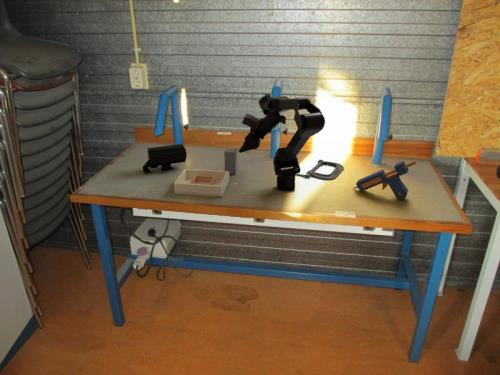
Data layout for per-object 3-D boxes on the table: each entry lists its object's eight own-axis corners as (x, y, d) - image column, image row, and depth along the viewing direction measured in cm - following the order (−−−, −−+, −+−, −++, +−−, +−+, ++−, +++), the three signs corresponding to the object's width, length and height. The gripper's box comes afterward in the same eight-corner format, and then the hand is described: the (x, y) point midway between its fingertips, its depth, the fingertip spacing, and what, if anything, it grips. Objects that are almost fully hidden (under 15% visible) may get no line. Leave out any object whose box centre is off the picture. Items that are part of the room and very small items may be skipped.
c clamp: (328, 185, 156) (328, 179, 155) (290, 175, 165) (290, 169, 164) (348, 169, 171) (349, 163, 170) (313, 160, 180) (313, 154, 179)
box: (229, 181, 159) (229, 171, 157) (221, 197, 146) (221, 186, 144) (186, 178, 161) (185, 168, 159) (174, 194, 149) (173, 183, 147)
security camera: (142, 169, 170) (139, 147, 166) (185, 163, 176) (183, 142, 171) (144, 176, 164) (141, 153, 160) (188, 169, 170) (186, 147, 166)
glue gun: (366, 210, 155) (350, 183, 153) (430, 183, 141) (413, 154, 140) (364, 215, 150) (348, 188, 149) (429, 188, 137) (412, 158, 136)
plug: (237, 170, 169) (237, 148, 164) (235, 175, 165) (235, 152, 160) (227, 170, 169) (226, 148, 165) (225, 174, 165) (224, 151, 161)
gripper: (258, 102, 162) (232, 127, 168) (250, 114, 145) (222, 141, 152) (276, 121, 164) (250, 145, 170) (271, 136, 147) (242, 161, 154)
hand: (241, 148), depth 162 cm, fingers open, 9 cm apart
